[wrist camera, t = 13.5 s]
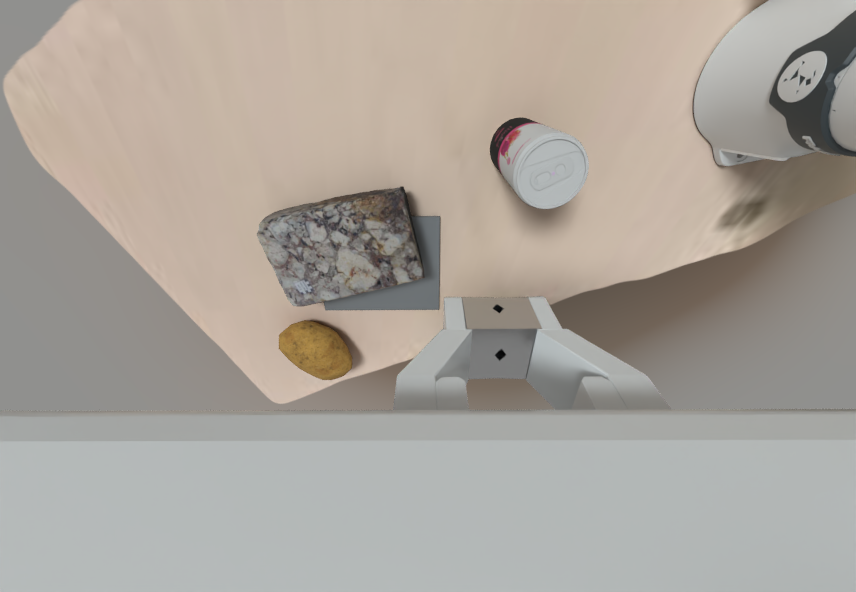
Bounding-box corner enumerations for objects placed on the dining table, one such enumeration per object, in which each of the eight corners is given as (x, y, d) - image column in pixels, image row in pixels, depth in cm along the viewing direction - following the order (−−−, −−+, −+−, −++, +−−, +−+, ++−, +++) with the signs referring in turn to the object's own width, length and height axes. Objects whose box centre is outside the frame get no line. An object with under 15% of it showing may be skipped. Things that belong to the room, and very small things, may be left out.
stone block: (425, 286, 45) (288, 312, 47) (426, 267, 51) (305, 291, 53) (401, 186, 39) (246, 221, 41) (406, 179, 45) (271, 209, 47)
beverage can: (481, 134, 41) (504, 157, 28) (532, 106, 39) (581, 118, 27) (500, 182, 44) (528, 222, 32) (547, 158, 42) (597, 191, 30)
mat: (439, 216, 47) (439, 217, 46) (438, 308, 55) (438, 309, 55) (306, 217, 47) (305, 218, 47) (326, 308, 56) (325, 310, 55)
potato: (313, 300, 55) (300, 326, 49) (366, 346, 60) (360, 374, 55) (278, 327, 58) (261, 354, 52) (331, 368, 63) (321, 397, 58)
